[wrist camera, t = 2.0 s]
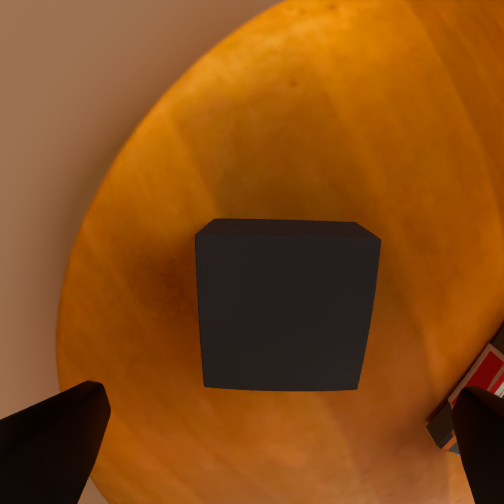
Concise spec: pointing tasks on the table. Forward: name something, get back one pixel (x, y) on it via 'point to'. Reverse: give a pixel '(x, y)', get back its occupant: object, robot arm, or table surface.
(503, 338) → the electronic device
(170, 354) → the table surface
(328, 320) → the dark grey square block
